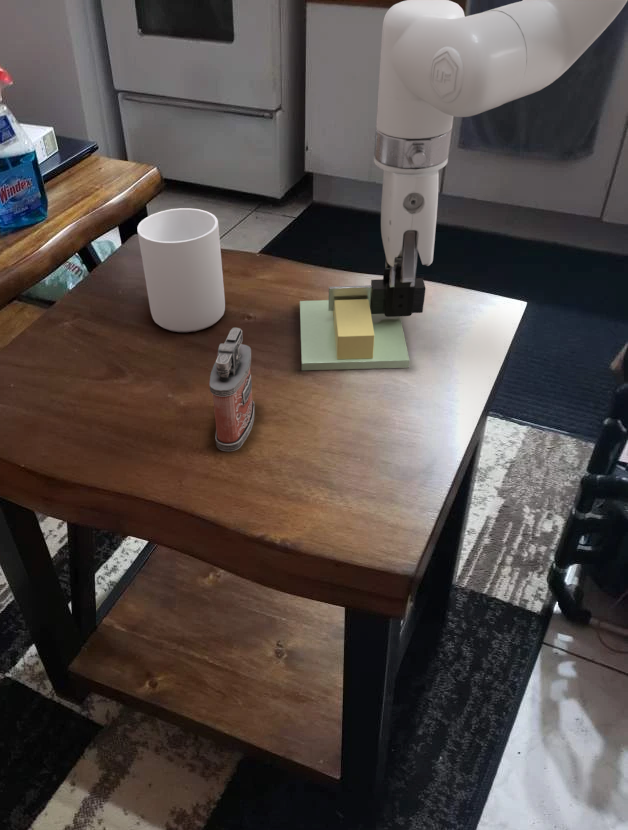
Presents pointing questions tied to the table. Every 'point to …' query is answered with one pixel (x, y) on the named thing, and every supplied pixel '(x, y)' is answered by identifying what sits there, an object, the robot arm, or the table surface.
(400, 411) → the table surface
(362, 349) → the butter
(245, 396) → the lighter
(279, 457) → the table surface
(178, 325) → the mug
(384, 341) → the butter plate
